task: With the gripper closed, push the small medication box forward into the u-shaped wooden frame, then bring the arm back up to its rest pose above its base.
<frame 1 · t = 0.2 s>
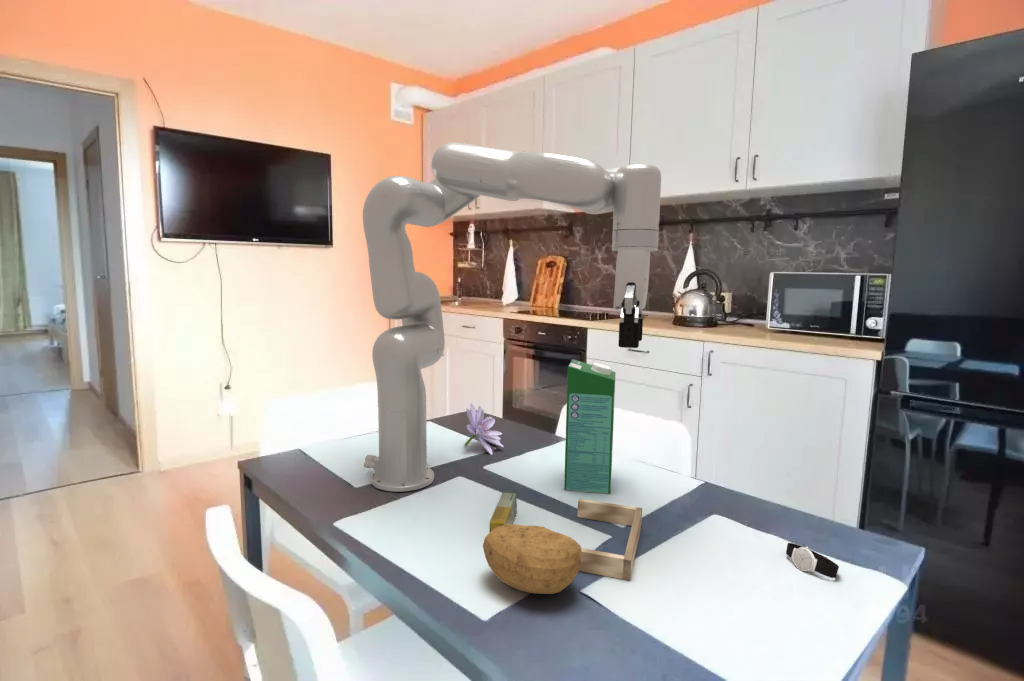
hand: (630, 343, 92), 31 cm above the table, tool pointing down, fingers open, 9 cm apart
milk carton: (588, 484, 111), on the table
potato: (530, 587, 74), on the table
watch: (810, 569, 80), on the table
medication box: (503, 529, 91), on the table
u-shaped wooden frame: (598, 543, 86), on the table
water lily: (484, 449, 132), on the table
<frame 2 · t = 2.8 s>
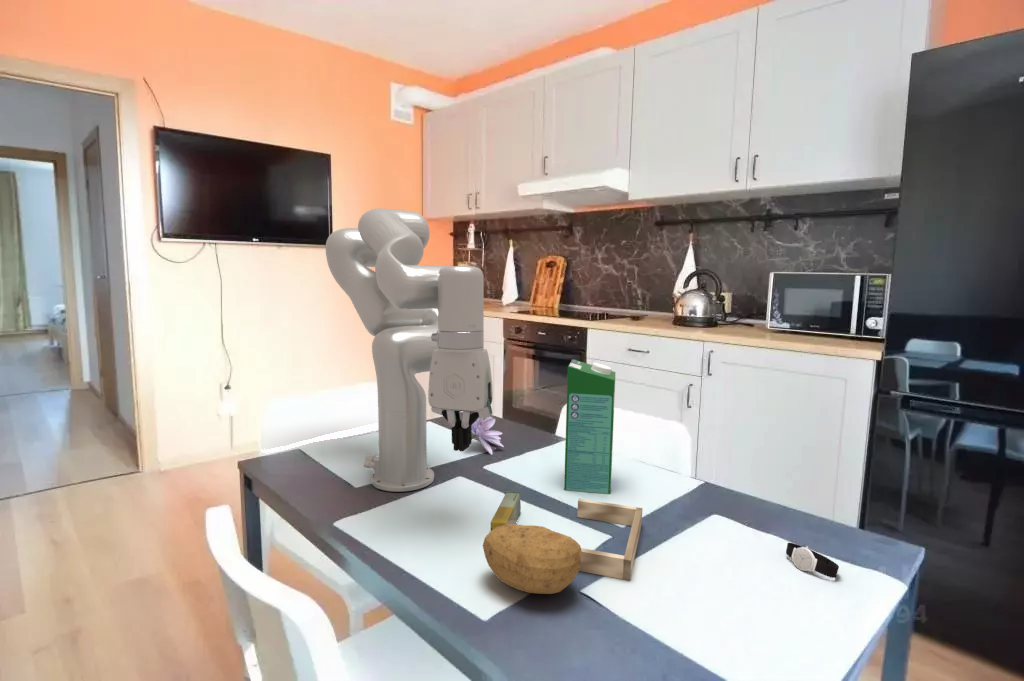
hand: (461, 448, 92), 13 cm above the table, tool pointing down, fingers closed
nothing on the table moved.
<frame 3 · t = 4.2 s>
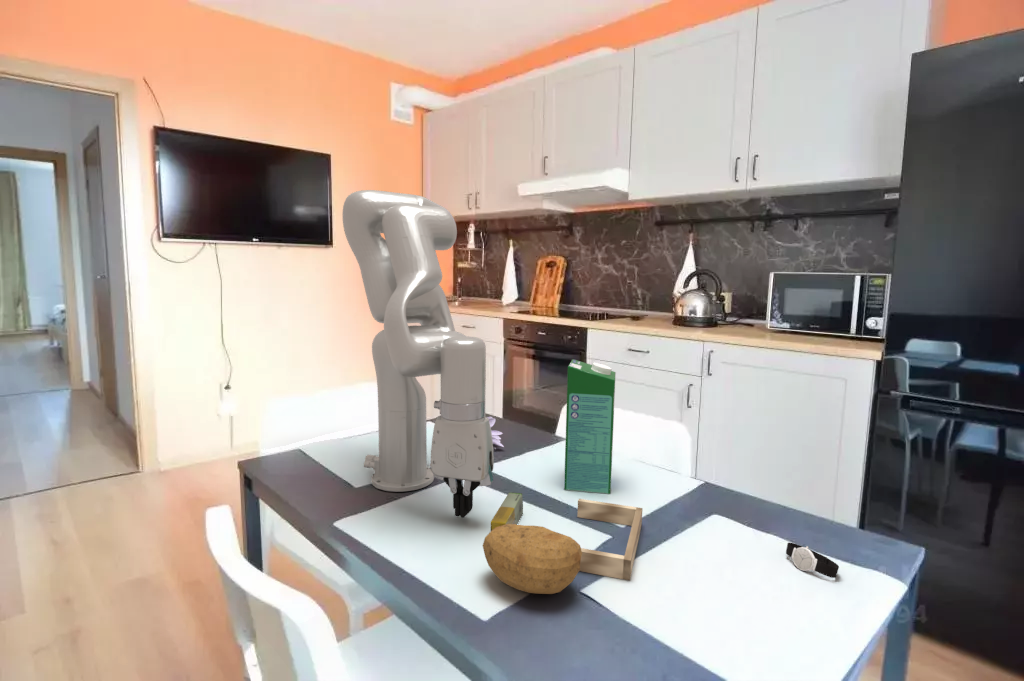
hand: (462, 513, 93), 1 cm above the table, tool pointing down, fingers closed
nothing on the table moved.
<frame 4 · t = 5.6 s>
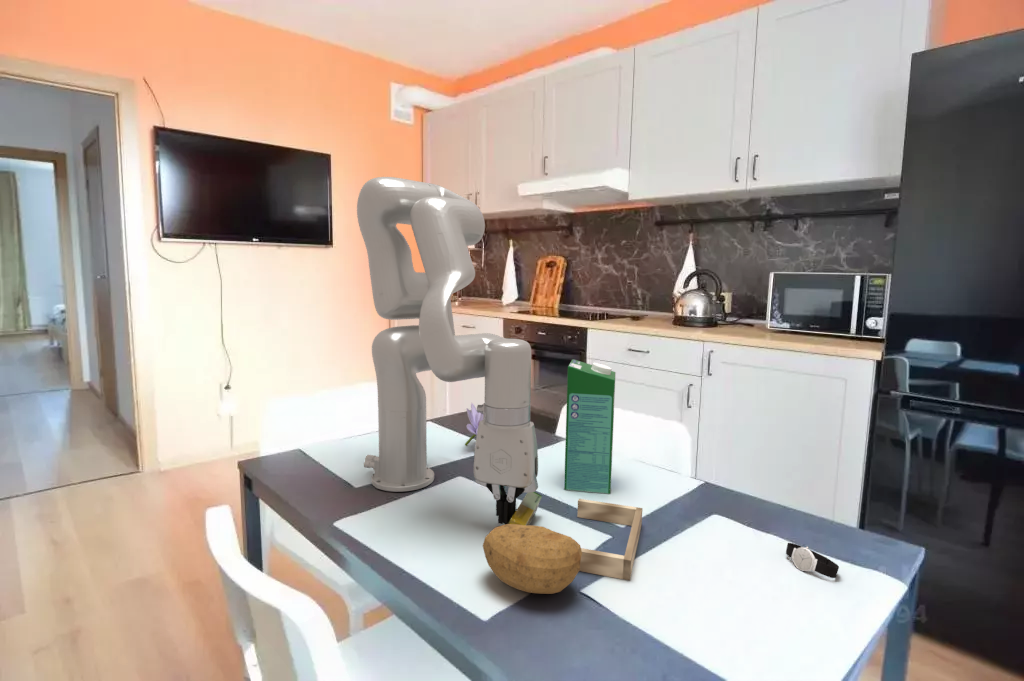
hand: (505, 520, 91), 1 cm above the table, tool pointing down, fingers closed
medication box: (518, 526, 90), on the table, touching gripper
everything else where it was.
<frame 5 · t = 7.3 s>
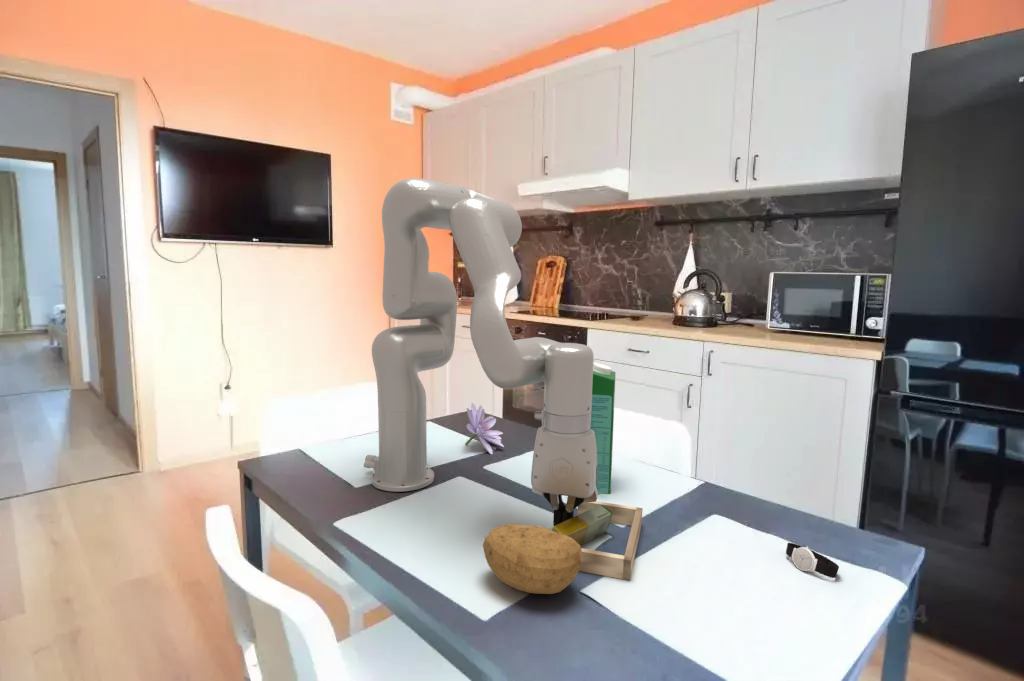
hand: (563, 530, 88), 1 cm above the table, tool pointing down, fingers closed
medication box: (577, 539, 87), on the table, touching gripper
everything else where it was.
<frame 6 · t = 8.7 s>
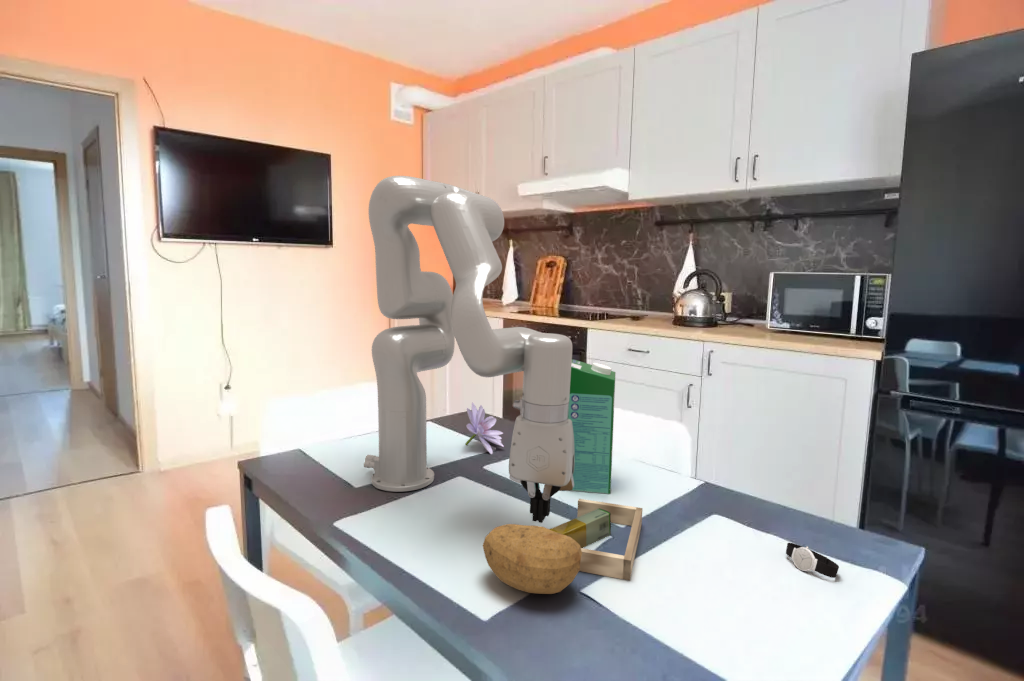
hand: (539, 518, 89), 2 cm above the table, tool pointing down, fingers closed
medication box: (580, 545, 86), on the table
everything else where it was.
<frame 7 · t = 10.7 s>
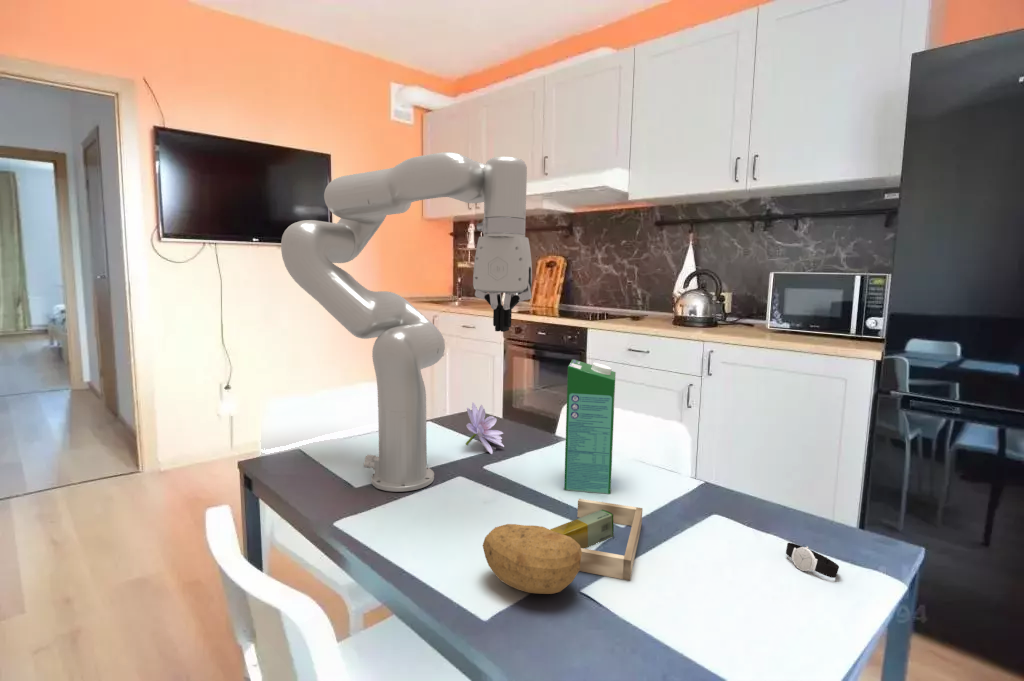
hand: (502, 330, 100), 32 cm above the table, tool pointing down, fingers closed
nothing on the table moved.
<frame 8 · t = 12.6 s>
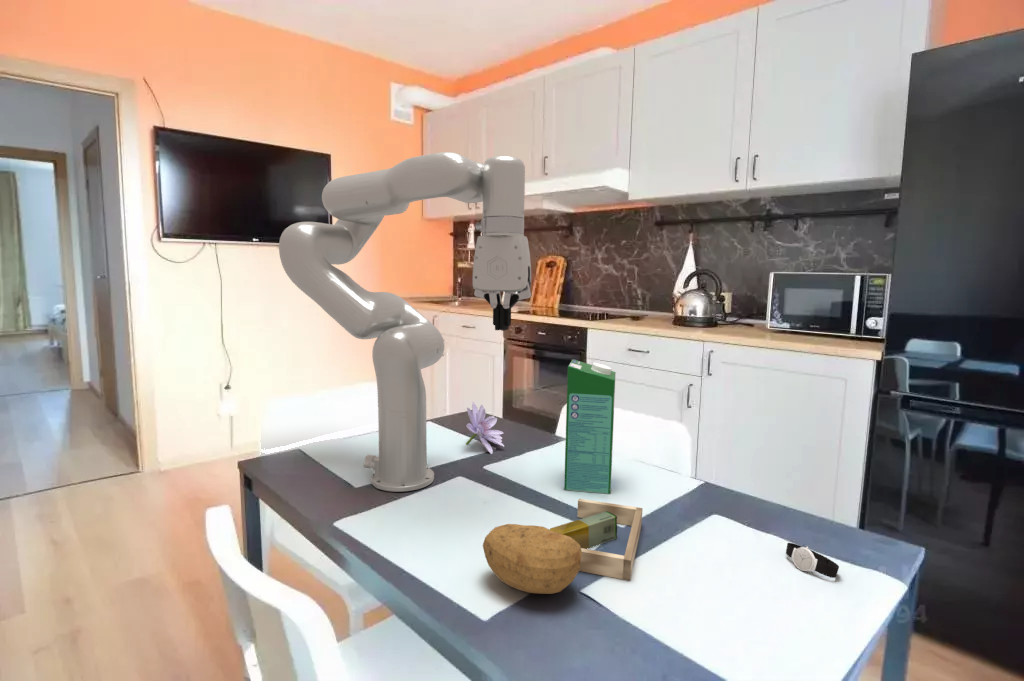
hand: (501, 329, 100), 32 cm above the table, tool pointing down, fingers closed
nothing on the table moved.
at the end: medication box inside the target area on the u-shaped wooden frame (2.3 cm from its centre), point -0.5 cm above the u-shaped wooden frame's base; medication box tilted 0°; the gripper is holding nothing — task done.
